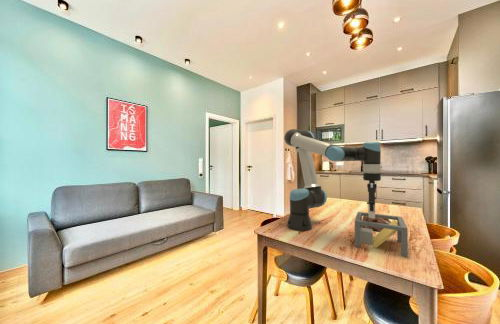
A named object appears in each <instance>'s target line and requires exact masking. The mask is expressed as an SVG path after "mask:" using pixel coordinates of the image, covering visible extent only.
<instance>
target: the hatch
mask: <svg viewBox="0 0 500 324" xmlns="http://www.w3.org/2000/svg"><path fill="white" fill-rule="evenodd" d="M389 225H396V226H398V225H397V220H392V221H391V223H390V224H389ZM397 231H398V230H392V229H385V228H384V229H383V230H382V231H380V232H379V231H378V233H377V234H375V236H373V248H374V249H377V248H379V246H381V244H383V243H384V242H385V241H386V240H388V239H390V238H391V237H392V236H393V235H394V234H395V233H397Z"/></svg>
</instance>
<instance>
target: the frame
mask: <svg viewBox="0 0 500 324" xmlns="http://www.w3.org/2000/svg"><path fill="white" fill-rule="evenodd" d="M363 216H368V217H369V215H368V212H362V211H357V212H356V216H355V218H354V247H356V248H359V249H360V248H361V247H360V246H361V243H360V227H361V228H363V226H362V225H365V226H372V227H379V228H385V229H392V230H398V231H396V238H397V240H396V241H397V242H398V243H400V255H401V257H405V258H409V257H408V248H409V247H408V240H409V239H408V236H409V235H408V234H409V233H408V231H409V229H408V227H407V224H406V222H405V220H404V217H403V216H398V215H395V216H394V215H390V214H388V215H387V214H381V213H375V217H376V218H384V219H389V220H392V221H393V220H395V221H396V222H397V225H398V226H396V225H389V224H382V223H375V222H367V221H362V219H363Z"/></svg>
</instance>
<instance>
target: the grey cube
mask: <svg viewBox="0 0 500 324" xmlns="http://www.w3.org/2000/svg"><path fill="white" fill-rule="evenodd" d="M373 230H374V229H372V228H366V227H362V228H361V227H360V244H367V245H370V246H371V245H372V246H374V236H373Z"/></svg>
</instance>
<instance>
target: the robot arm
mask: <svg viewBox="0 0 500 324" xmlns="http://www.w3.org/2000/svg"><path fill="white" fill-rule="evenodd" d="M283 139H284V142H285V144H286V145H287V146H290V147H292V148H295V151H296V152H297V153H298V154H299V155H298V156H299V161H300V165H301V166H300V167H301V172H302V178H303V182H304V187H303V188H294V189H292V190H291V191H290V192H289V216H288V219H287V223H286V224H287V225H286V226H287V228H289V229H291V230H294V231H299V232H301V231H302V232H303V231H309V230H312V229H313V223H312V221H311V216H310V209H314V208H320V207H322V206H324V205H325V204H326V202H327V199H328V198H327V197H328V196H327V193H326V191H325V190H324V189H322V185H321V184H319V181H318V176H317V173H316V168H315V167H316V166H315V163H314V158H313V157H314V156H313V153H314V154H316V155H320V156H322V157H325V158H327V159H328V161H331V162H362V163H363V164H362V167H363V168H362V172H363V173H362V174H363V175H362V176H363V177H362V179H363V180H364V181H368V183H367V185H366V186H367V193H368V201H367V202H366V204H367V205H368V207H367V208H368V211H367V213H368V215H369V218H375V214H376V200H377V196H376V194H375V193H377V189H378V188H377V183H376V182H380V181H381V180H382V179H381V178H382V177H381V176H382V175H381V173H380V172H381V170H382V168H383V166H381V164H382V163H381V161H382V160H381V159H382V158H381V157H382V156H381V155H382V154H381V153H382V150H381V143H380V142H379V141H367V142H363V144H362V146H356V147H355V146H353V147H352V146H340V145H336V144H332V143H329V142H327V141H322V140H319V139H315V136H314V133H313V132H311V131H309V130H307V129H295V128H293V129H288V130H287V131H286V133H284V137H283Z"/></svg>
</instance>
